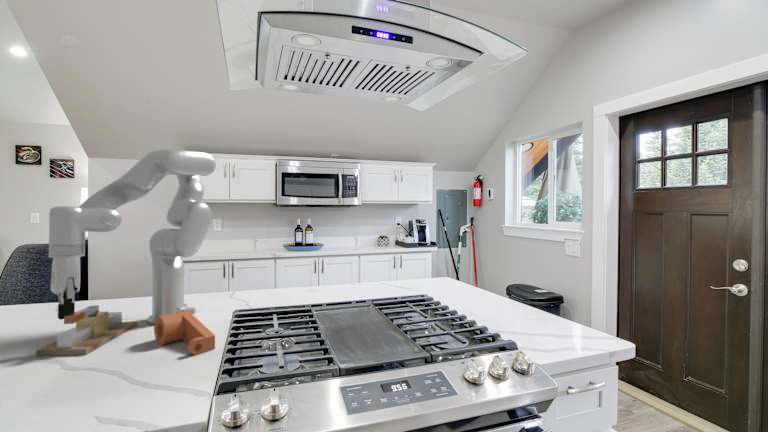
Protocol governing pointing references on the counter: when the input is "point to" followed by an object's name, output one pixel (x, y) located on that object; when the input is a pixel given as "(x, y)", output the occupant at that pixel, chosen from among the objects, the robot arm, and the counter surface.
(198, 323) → the crank
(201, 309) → the counter surface
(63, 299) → the robot arm
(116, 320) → the valve body
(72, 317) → the lever
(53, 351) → the walnut board
